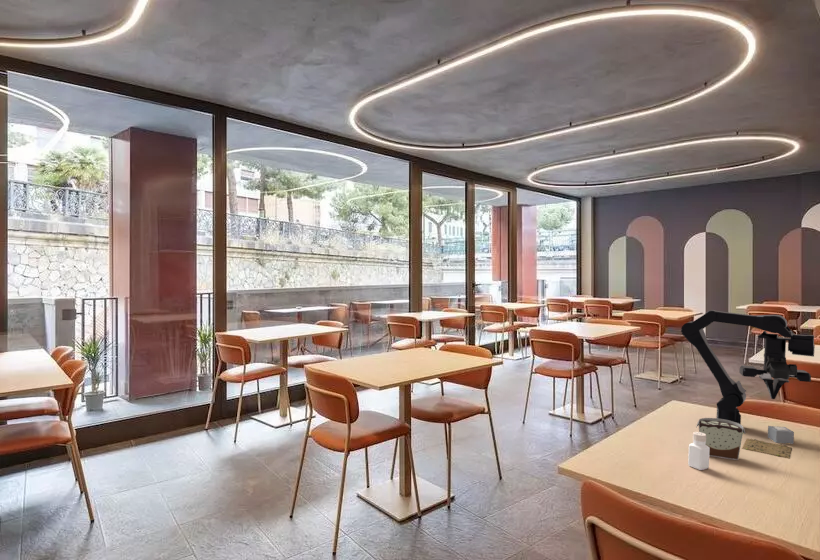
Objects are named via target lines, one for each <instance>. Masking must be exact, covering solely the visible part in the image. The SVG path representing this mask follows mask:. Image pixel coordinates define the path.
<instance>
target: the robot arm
mask: <svg viewBox="0 0 820 560" xmlns="http://www.w3.org/2000/svg"><path fill="white" fill-rule="evenodd" d="M714 322H715V323H721V324H722V323H723V324H731V325H737V326H744V327H745V326H747V327H752V328H756V329H759V330H762V331H763V332H762V333H760V334H759V335H757V337H758V338H759V339H764V352H763V369H761V368H760V369H759V368H756V367H755V366H754V365H753V366H752V365H741V366H739V372H738V373H739V374H740V375H741V376H742V377H747V378H750V377H751V378H755V377H756V376H758V378H759V379H760V380H762V381H763V382H764V384H765V386H766V388H767V391H768V393H769V397H770V399H772V400H776V398H777V396H778V394H779V391H780V390H781V388H782V386H783V385H784V384H785V383H790V380H789V379H790V378H793V379H796V380H798V381H799V382H809V383H810V382H812V376H811V374H810V373H809V372H808V371H806V370H804V369H798V365H797V364H794V363H787V357H786V350H787V351H788V352H790V353H791V355H795V356H796V355H797V356H804V357H815V346H816V345H815V335H813V334H807V335H806V334H795V333H794V332H793V330H792V329H791V328H789V326H788V321H787V319H786V318H785V317H784V316H783V315H781V314H759V315H758V314H756V315H753V314H745V313H737V312H729V311H721V310H720V311H719V310H717V309H716V310H715V309H711V310H708V311H706V312H705V313H704V314H703V315H701V316H700V317H698V318H697V319H695V320H694V321H693V320H691V321H687V322H686V323H684V324H683V325H681V328H680V333H681V334H682V336H683V337H684V338H685V339H686V340H687V341H688V342H689V343H690V344H691V345H692V346H693V347H695V348H696V350H697V352H698V353H699V355H700V356H701V358H702V359H703V361H704V363H705V365H706V366H707V367H708V369H709V371H710V372H711V374H712V376H713V378H714V379H715V380H716V381H717V384H718V385H719V388H720V389H719V390H720V393H721V395H722V397H721V398H720V399H719V400H718V401H717V402H716V418H718V419H724V420H729V421H733V422H736V423H738V424H741V425H742V423H741V422H742V421H741V420H742V415H741V414H740V410H739V407H741V406H742V405H744V402H745V401H746V398H747V394H746V392H747V389H746V388H744V387H743V385H742V383H741V380H737V381H735V380H734V379H732V378H731V377H730V375H729V373H728V372H727V370H726V369H725V368H724V366H723V364H722V363H721V361H720V360H719V358H718V356H717V355H716V354H715V352H714V350H713V349H712V347H711V346H710V344H709V343H708V339H707V335H706V332H705V331H704V329H705V328H706V327H708V326H710V325H711V324H712V323H714ZM768 332H769V333H768ZM779 335H780V336H779ZM786 347H787V348H786Z"/></svg>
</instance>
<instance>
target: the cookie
mask: <svg viewBox="0 0 820 560" xmlns="http://www.w3.org/2000/svg"><path fill="white" fill-rule="evenodd" d="M741 449H742V450H746V451H750V452H756V453H760V454H765V455H770V456H775V457H780V458H784V459H788V460H789V459H791V454H792V449H793V448H792V446H788V445H787V444H783V443H775V442H767V441H763V440H760V439H759V440H758V439H756V438H755V439H754V438H746V439H745V441H744V444H743V446H742V447H741Z"/></svg>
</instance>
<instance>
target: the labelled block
mask: <svg viewBox="0 0 820 560" xmlns="http://www.w3.org/2000/svg"><path fill="white" fill-rule="evenodd" d="M794 436H795V432H794V431H793V430H791V429H789V428H787V427H786V426H779V425H778V426H776V425H775V426H774V425H768V426H767V439H769V438H770V440H771V441H772V440H773V441H772V442H773V443H775V444H786V443H790V444H789V445H794V443H795V442H794V439H795V437H794Z"/></svg>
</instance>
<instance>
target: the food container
mask: <svg viewBox="0 0 820 560" xmlns="http://www.w3.org/2000/svg"><path fill="white" fill-rule="evenodd" d="M695 428H698V432H701V433H704V434H706V445H707V446H708V447H709V448H710V451H709V457H712V458H713V457H715V458H721V459H727V460H734V461H739V460H740V459H739V457H740V452H741V448H742V447H741V445H742V440H743V434H744V435H745V434H746V430H745V427H744V426H743V425H742V423H741V424H738V423H736V422H733V421H729V420H724V419H718V418H717V417H703V418H699V419H698V421H697V423H696V426H695Z"/></svg>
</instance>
